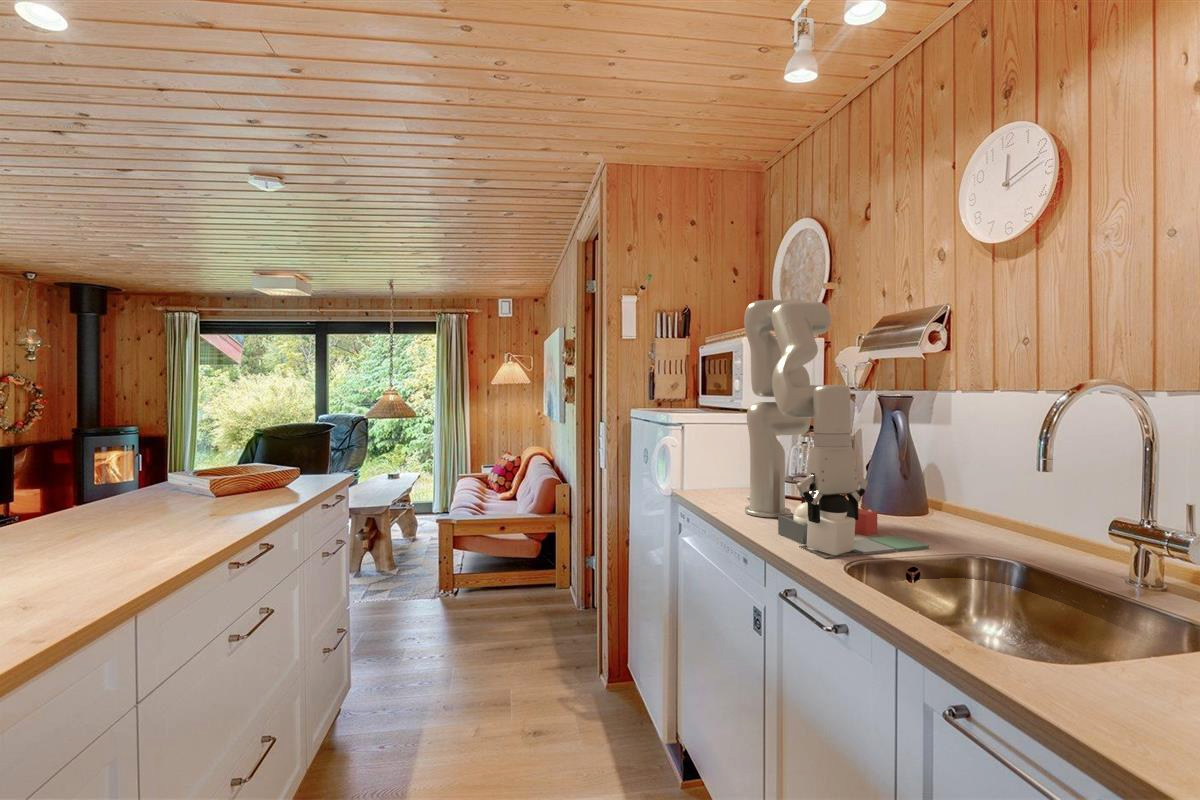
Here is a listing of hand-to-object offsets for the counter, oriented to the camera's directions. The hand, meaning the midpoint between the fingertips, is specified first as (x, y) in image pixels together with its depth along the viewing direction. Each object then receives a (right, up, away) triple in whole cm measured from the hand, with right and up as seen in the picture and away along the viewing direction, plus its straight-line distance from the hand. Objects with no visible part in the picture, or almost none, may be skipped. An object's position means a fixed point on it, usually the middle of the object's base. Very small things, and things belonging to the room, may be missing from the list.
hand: (833, 520), depth 124 cm
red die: (+14, -6, +18) cm, 23 cm away
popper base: (-1, -7, +12) cm, 14 cm away
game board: (+8, -7, +3) cm, 11 cm away
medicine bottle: (0, -7, +1) cm, 7 cm away
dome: (-1, -5, +12) cm, 13 cm away
